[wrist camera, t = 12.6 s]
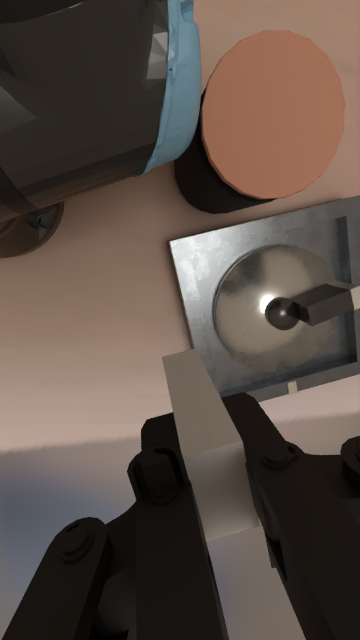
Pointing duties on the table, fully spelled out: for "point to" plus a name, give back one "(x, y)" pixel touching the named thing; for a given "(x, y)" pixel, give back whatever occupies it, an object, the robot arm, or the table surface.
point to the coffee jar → (263, 124)
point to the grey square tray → (238, 241)
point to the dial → (280, 307)
